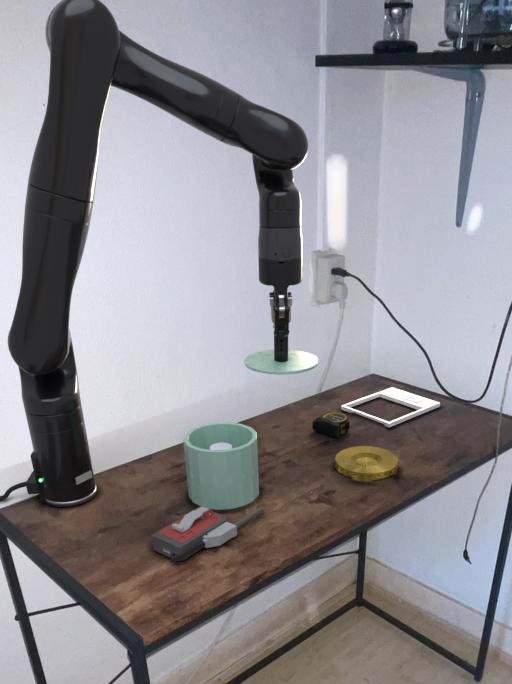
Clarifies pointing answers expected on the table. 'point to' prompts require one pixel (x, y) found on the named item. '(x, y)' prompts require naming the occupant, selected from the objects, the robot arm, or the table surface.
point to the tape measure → (331, 424)
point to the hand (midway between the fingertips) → (281, 353)
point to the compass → (366, 463)
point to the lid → (281, 362)
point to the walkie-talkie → (197, 533)
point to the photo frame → (398, 397)
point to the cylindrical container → (222, 465)
